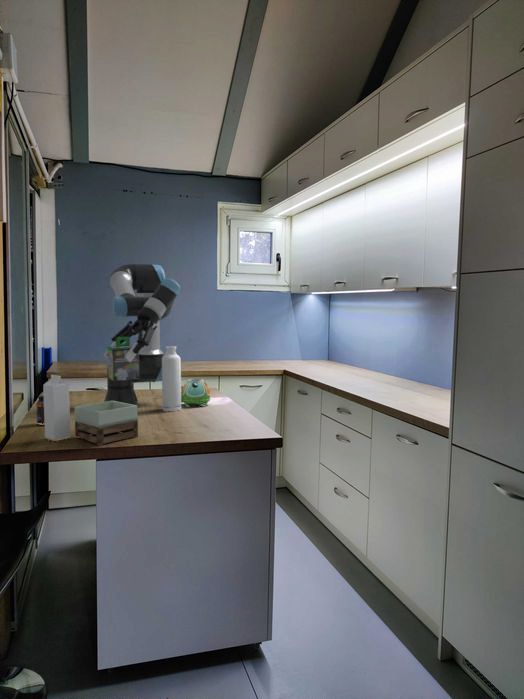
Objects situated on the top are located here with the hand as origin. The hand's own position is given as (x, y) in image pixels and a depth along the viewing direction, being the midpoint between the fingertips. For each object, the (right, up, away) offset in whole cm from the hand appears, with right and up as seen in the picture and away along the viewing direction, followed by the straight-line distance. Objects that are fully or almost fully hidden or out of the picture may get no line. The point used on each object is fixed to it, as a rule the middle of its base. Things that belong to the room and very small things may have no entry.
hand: (116, 358), depth 173 cm
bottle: (+10, -24, +49) cm, 56 cm away
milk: (-20, -28, -1) cm, 34 cm away
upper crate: (-4, -21, 0) cm, 22 cm away
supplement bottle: (-34, -26, +21) cm, 47 cm away
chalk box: (+2, -7, +3) cm, 8 cm away
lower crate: (-4, -27, +1) cm, 28 cm away
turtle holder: (+18, -23, +60) cm, 67 cm away
